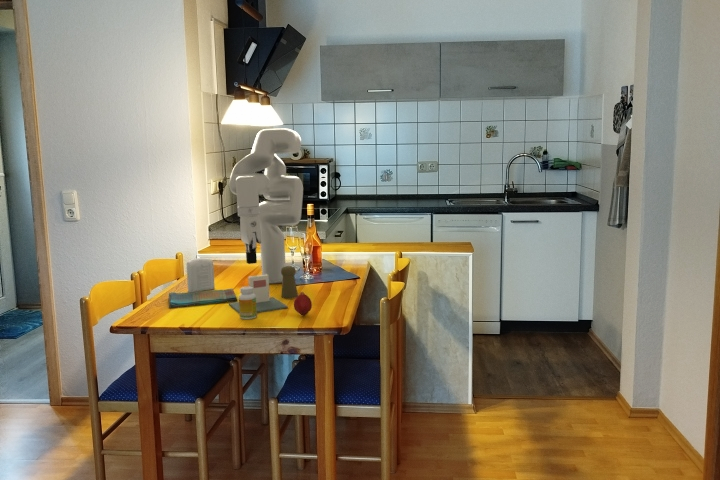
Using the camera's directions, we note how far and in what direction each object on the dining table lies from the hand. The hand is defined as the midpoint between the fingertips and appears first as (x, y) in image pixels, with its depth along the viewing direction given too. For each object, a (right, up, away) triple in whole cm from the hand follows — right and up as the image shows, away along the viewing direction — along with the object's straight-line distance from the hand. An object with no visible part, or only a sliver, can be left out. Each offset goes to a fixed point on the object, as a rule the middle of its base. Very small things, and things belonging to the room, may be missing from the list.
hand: (251, 262), depth 239 cm
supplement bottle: (+2, -17, -21) cm, 27 cm away
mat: (+4, -15, -8) cm, 17 cm away
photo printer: (-22, -11, +18) cm, 30 cm away
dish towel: (-18, -14, +4) cm, 23 cm away
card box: (+4, -13, -4) cm, 14 cm away
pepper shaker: (+13, -12, +4) cm, 18 cm away
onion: (+20, -16, -21) cm, 33 cm away
